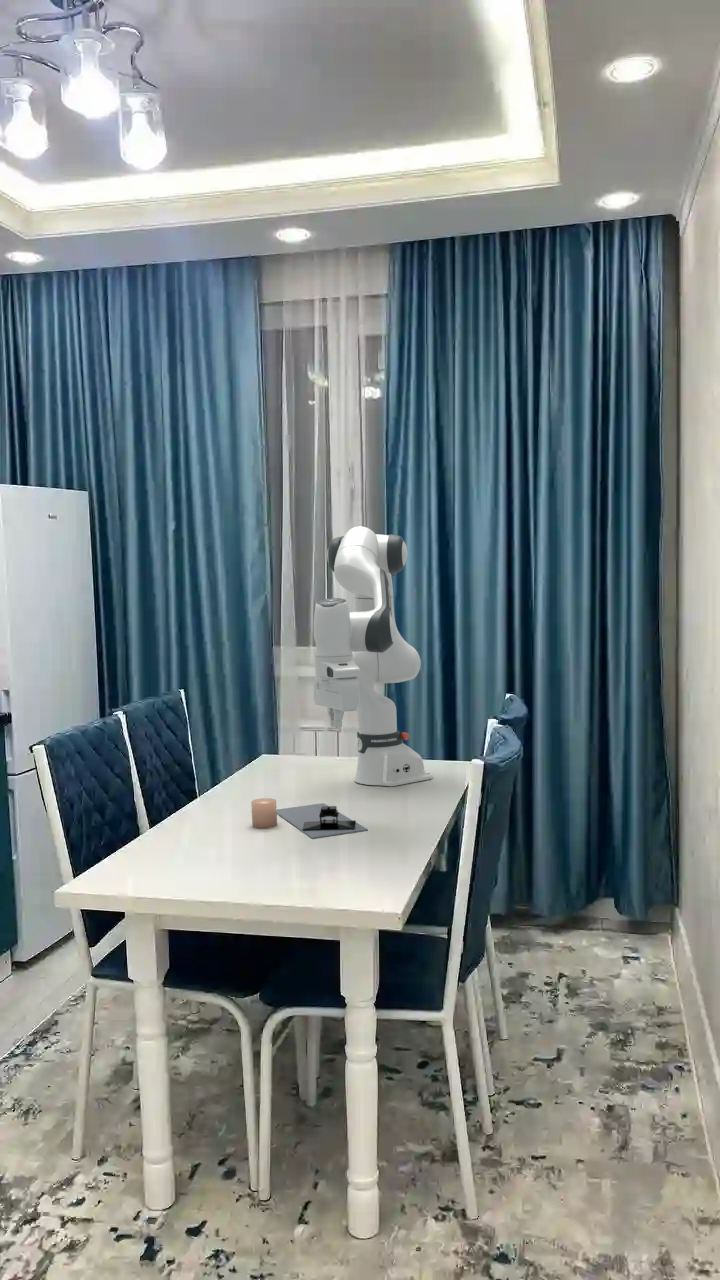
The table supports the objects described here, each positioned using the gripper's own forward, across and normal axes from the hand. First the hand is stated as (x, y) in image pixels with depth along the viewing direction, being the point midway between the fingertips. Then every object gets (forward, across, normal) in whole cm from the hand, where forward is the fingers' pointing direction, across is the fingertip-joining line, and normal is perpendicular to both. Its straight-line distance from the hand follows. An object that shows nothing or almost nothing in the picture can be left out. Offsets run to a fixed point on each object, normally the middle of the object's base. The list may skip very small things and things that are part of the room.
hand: (336, 727), depth 234 cm
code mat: (+24, -13, -1) cm, 28 cm away
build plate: (+24, -6, -1) cm, 25 cm away
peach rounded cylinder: (+24, -16, -14) cm, 32 cm away
